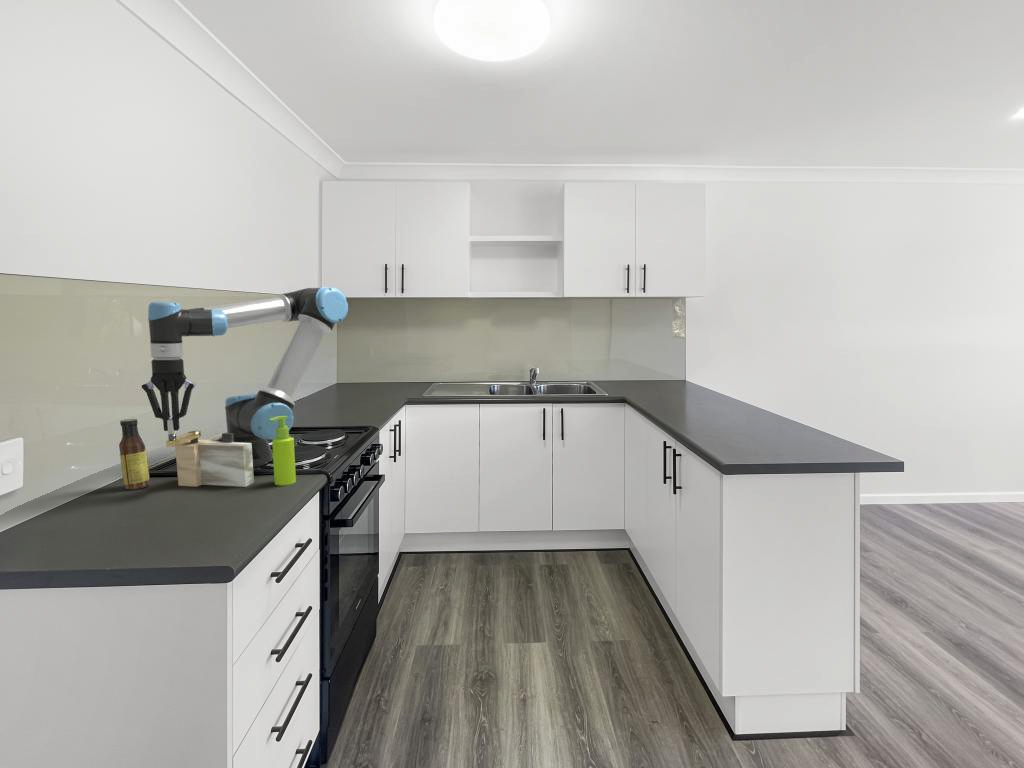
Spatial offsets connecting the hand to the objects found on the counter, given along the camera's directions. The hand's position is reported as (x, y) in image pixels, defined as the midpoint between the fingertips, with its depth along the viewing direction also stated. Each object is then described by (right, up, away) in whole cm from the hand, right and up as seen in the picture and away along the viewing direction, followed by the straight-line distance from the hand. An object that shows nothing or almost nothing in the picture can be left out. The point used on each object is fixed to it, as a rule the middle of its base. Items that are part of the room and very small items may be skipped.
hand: (172, 441), depth 157 cm
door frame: (+9, -13, +8) cm, 18 cm away
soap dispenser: (+28, -13, +8) cm, 32 cm away
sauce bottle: (-13, -14, +4) cm, 19 cm away
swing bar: (+2, 0, +2) cm, 3 cm away
